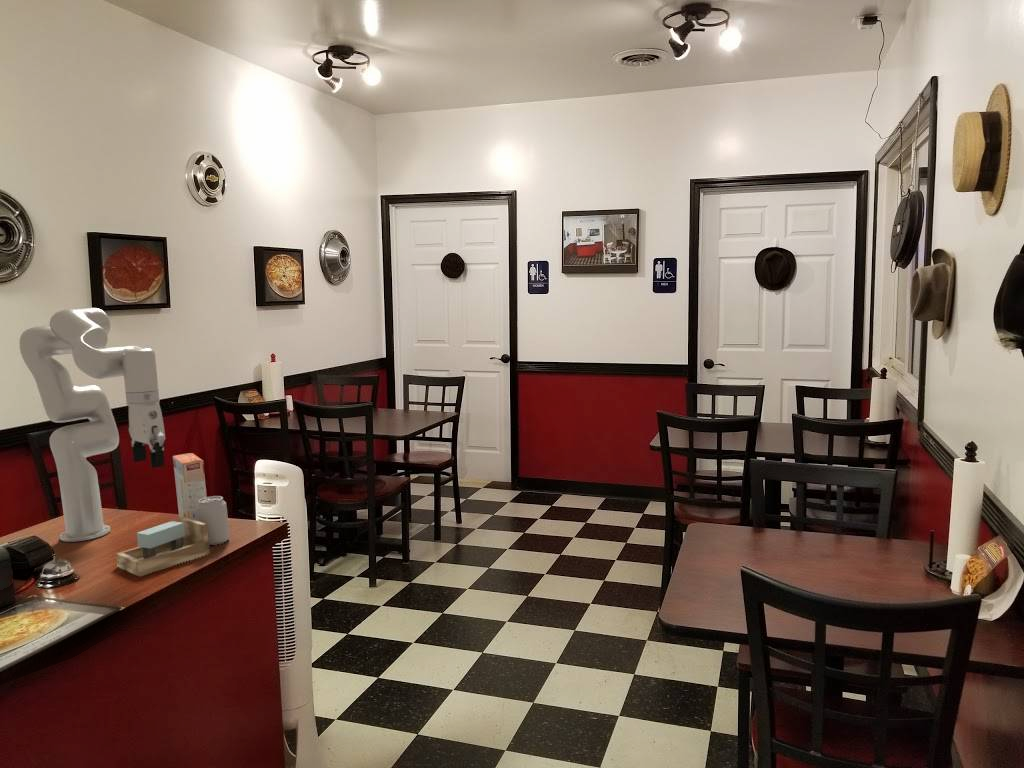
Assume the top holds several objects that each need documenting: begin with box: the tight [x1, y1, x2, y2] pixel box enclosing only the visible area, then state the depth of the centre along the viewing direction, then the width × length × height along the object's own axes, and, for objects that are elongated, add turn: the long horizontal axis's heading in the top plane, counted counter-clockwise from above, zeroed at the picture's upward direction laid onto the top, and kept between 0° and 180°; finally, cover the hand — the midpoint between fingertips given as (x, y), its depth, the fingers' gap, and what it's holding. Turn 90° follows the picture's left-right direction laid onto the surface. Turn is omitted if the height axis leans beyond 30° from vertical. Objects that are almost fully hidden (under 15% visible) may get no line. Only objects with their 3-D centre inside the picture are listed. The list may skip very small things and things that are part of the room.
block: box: [136, 520, 185, 549], centre depth 198 cm, size 10×4×4 cm, turn 150°
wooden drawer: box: [115, 517, 211, 578], centre depth 199 cm, size 12×18×8 cm, turn 140°
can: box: [196, 495, 231, 546], centre depth 211 cm, size 8×8×12 cm
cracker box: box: [172, 452, 208, 521], centre depth 223 cm, size 14×6×21 cm, turn 33°
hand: (148, 463), depth 202 cm, fingers open, 9 cm apart
